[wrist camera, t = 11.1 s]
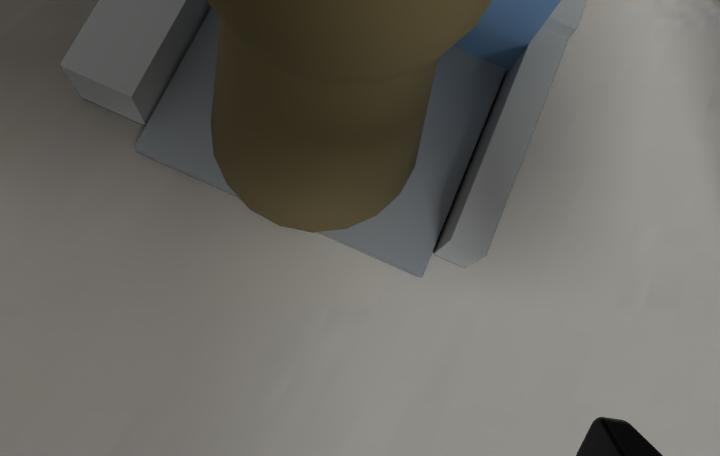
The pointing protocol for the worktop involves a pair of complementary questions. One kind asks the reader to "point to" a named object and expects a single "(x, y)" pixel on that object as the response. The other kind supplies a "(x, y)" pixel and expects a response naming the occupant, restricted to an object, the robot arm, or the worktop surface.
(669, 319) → the worktop surface
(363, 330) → the worktop surface
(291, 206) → the cork
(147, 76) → the shallow tray
